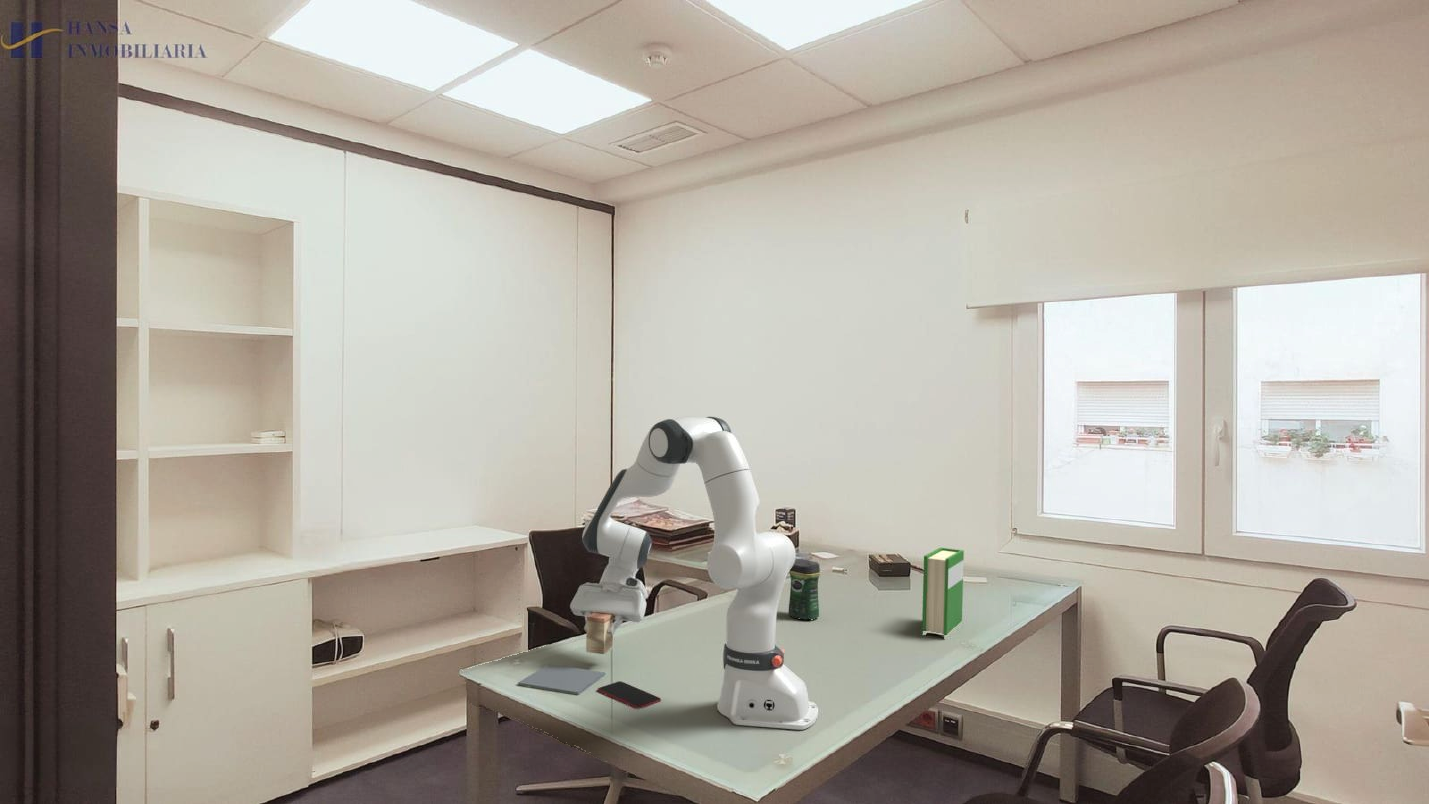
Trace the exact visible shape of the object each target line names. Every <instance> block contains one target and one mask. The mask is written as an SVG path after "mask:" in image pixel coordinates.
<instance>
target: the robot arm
mask: <svg viewBox="0 0 1429 804" xmlns="http://www.w3.org/2000/svg"><path fill="white" fill-rule="evenodd" d="M635 459H636V460H635V462H634V463H633V464H632V465H630V466H629V467H627V468H624V469H621V470H620V471H619V472H618V473H617V474H616V475H615V478H614V480H613V481H612V483H611V484H610V485H609V487H608V489H607V491H606V493H605V494H604V496H603V498H602V500H601V502H600V504H599V505H598V507H597V510H596V511H595V513H594V515H593V516H592V517H591V518H590V520H588V522H587V523H586V525H585V527H584V529H583V532H582V536H581V537H582V540H581V541H582V544H583V545H584V547H585V549H586V550H587V552H588V553H593V554H597V555H602V556H606V557H609V558H608V564H607V565H606V567H605V568H604V571H603V573H602V576H601V578H600V581H599V583H596V582H595V583H591V582H585V583H583V584H581V585H579V587H578V589H577V592H576V593H575V594H574V597H573V598H572V600H571V602H570V604H569V607H570V609H571V612H572V613H573V615H575V616H581V617H584V619H585V625H584V628H583V629H584V631H585V632H587V616H589V615H591V614H593V613H604V614H613V624H612V625H608V628H607V632H608V634H613V635H615V632H616V629H618V628H619V627H620V626H622V624H623V621H624V622H625V621H626V622H634V623H640V622H641V621H642V620H643V619H644V616H645V614H646V608H647V601H646V599H647V598H648V591H647V588H646V587H645V585H644V584H643V581H641V580H640V579H638V578H636V574H637V573H638V571H639V570H640V569H641V568H643V567H644V566H646V564H647V561H648V557H649V554H650V552H651V550H652V547H653V540H652V538H651V536H650V534H649V532H648V531H646V530H644V529H641V528H639V527H636V526H633V525H629V524H626V523H623V522H620V521H617V520H615V519H613V518H612V514H613V512H614V510H615V508H616V507H617V505H618V503H619V502H620V501H621V500H623V499H626V498H627V499H628V498H637V497H639V498H652V497H653V498H654V497H657V496H661V495H662V494H665V493H666V492H667V491H668V490H670V488H671V487H672V485H673V484H674V481H675V480H676V476H677V474H678V471H679V468H680V466H681V464H686V463H687V464H688V463H691V464H692V463H695V464H697V466H698V467H699V469H700V472H701V475H702V479H703V482H704V487H705V489H706V490H705V491H706V493H707V498H708V500H709V504H710V508H711V511H712V516H713V523H714V524H713V525H714V527H713V529H714V531H713V532H714V534H713V536H714V537H713V543H712V548H711V549H710V551H709V553H708V555H707V559H706V560H707V561H706V567H707V568H706V569H707V573H708V575H709V578H710V579H711V581H712V582H713V583H714V584H715V585H716V586H718V587H720V588H722V589H725V590H726V589H727V590H728V589H729V590H737V591H736V593H735V596H734V598H733V600H732V601H731V603H730V604H729V606H728V607H727V612H726V629H725V630H726V631H725V632H726V635H725V636H726V638H725V643H724V645H723V653H722V655H723V656H722V665H723V670H724V671H723V679H722V680H723V681H722V685H721V691H720V695H719V699H718V702H717V705H716V708H717V711H718V712H719V713H720V714H722V715H723V716H725V717H727V718H728V719H729V720H730V721H731V722H732V724H734V725H737V726H745V727H746V726H748V727H761V728H771V729H772V728H773V729H784V730H785V729H786V730H787V729H788V730H799V731H801V730H805V729H808V728H811V726H813V725H814V724H815V723H816V721H817V720H818V717H819V708H818V705H817V704H816V703H815V702H813V701H810V699H809V694H808V688H807V686H806V683H805V682H804V680H802V679H801V678H800V677H799V676H798V675H796V674H795V673H794V672H793V670H790V669H789V668H788V666H787V665H785V664H784V661H785V658H784V657H785V656H784V655H785V648H783V649H782V650H781V649H780V648H779V646H777V645H776V636H777V635H776V633H777V632H776V630H777V629H776V628H777V614H778V608H779V604H780V603H779V602H780V599H781V595H782V591H783V588H784V585H785V582H786V578H787V576H788V574H789V573H790V569H791V568H792V566H793V564H794V562H795V559H796V558H797V555H796V553H797V552H796V548H795V545H794V544H793V543H794V542H792V540H791V539H790V538H789V537H788V536H787V535H785V534H783V533H779V532H775V531H762V532H757V529H756V527H757V526H756V515H757V511H758V510H759V508H760V505H761V504H760V503H761V501H760V496H759V493H758V490H757V487H756V484H755V481H754V478H753V474H752V472H751V468H750V465H749V462H748V460H747V458H746V455H745V453H744V451H743V449H742V446H741V444H740V443H739V441H738V439H737V437H736V436H735V435H734V434H733V433H732V429H731V428H730V426H729V424H728V423H727V422H726V421H725V420H724V419H722V418H719V417H715V416H707V417H699V416H684V417H678V418H674V419H673V418H672V419H671V418H669V419H668V418H667V419H664V420H662V421H659V422H657V423H655V424H654V425H653V426H652V427H651V428H650V429H649V431H648V432H647V435H646V436H645V438H644V439H643V441H642V444H641V446H640V449H639V450H638V453H637V456H636V458H635ZM816 719H817V720H816Z"/></svg>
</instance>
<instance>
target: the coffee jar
mask: <svg viewBox="0 0 1429 804" xmlns="http://www.w3.org/2000/svg"><path fill="white" fill-rule="evenodd" d="M820 573H821V569H820V564H819V563H818V562H817V561H813V560H809V559H803V558H797V559H796V558H795V562H794V564H793V566H792V568H791V569H790V571H789V576H790V592H789V601H788V613H787V614H788V615H790V617H791V616H793V617H792V618H794V617H796V618H795V619H797V618H800V619H799V620H801V619H814V618H817V617H818V618H819V617H820V605H819V604H820V603H819V578H820V575H821V574H820ZM818 618H817V619H818Z"/></svg>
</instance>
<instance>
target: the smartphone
mask: <svg viewBox="0 0 1429 804" xmlns="http://www.w3.org/2000/svg"><path fill="white" fill-rule="evenodd" d="M597 692H599V693H600V694H602V695H604V694H606V695H605V696H607V695H608V696H607V697H609V696H610V697H609V698H611V697H612V698H611V699H613V698H614V700H616V701H618V702H620V703H622V702H623V704H625V705H627V704H628V705H627V706H629V705H630V706H629V707H631V706H632V708H633V709H634V708H635V709H636V708H638V709H637V710H640V709H639V708H642V709H643V707H644V708H647V707H649V705H650V706H652V705H654V703H655V704H657V702H658V703H660V702H661V701H662V699H661V697H659V696H656V695H654V694H652V693H649V692H647V691H646V690H643V689H640V688H638V687H635V686H633V685H630V684H628V683H626V682H623V681H616V682H612V683H610V684H607V685H603V686H601V687H598V688H597ZM651 704H652V705H651ZM646 706H647V707H646Z"/></svg>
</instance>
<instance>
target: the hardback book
mask: <svg viewBox="0 0 1429 804" xmlns="http://www.w3.org/2000/svg"><path fill="white" fill-rule="evenodd" d="M964 554H965V551H964V550H963V549H955V548H948V547H946V548H945V547H938V548H936V549H934V550H933V551H931V552H929V553H927V554H925V555H924V556H923V581H922V582H923V583H922V586H923V587H922V615H921V617H922V619H921V623H922V624H921V632H922V631H931V632H936V633H942V634H944V635H947V634H948V633H949V632H950V631H951V630H952V629H953V628H954V627H956V626H957V625H958V624H959V623H960V622H961V621H962V622H963V595H964V593H963V592H964V591H963V590H964V557H965V556H964Z"/></svg>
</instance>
